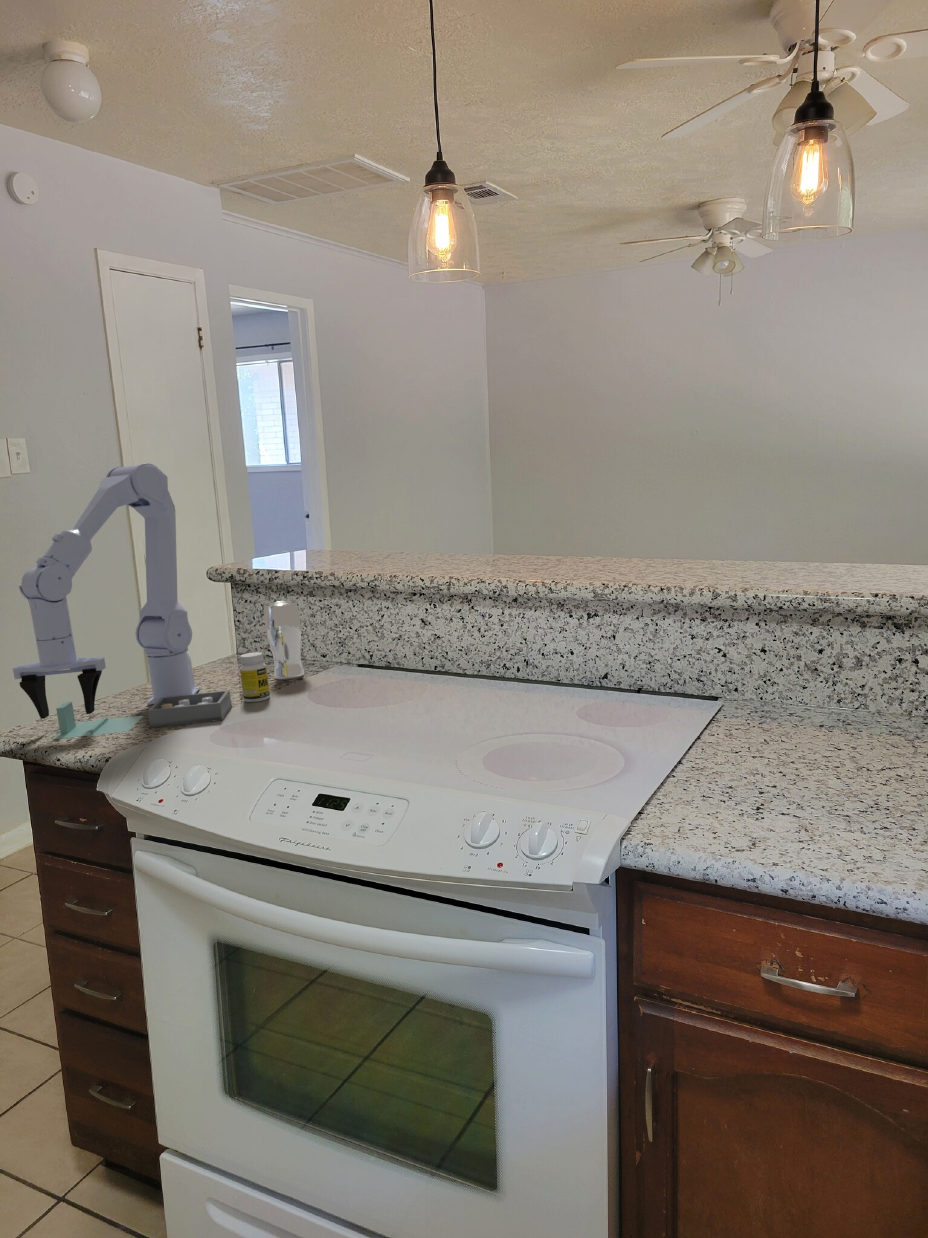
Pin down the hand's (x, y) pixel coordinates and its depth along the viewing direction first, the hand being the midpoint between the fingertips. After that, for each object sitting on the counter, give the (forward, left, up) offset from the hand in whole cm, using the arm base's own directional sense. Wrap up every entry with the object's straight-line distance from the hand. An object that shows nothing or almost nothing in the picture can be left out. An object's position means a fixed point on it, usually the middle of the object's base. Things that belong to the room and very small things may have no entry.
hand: (67, 714), depth 152 cm
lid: (0, +5, -3) cm, 6 cm away
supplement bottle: (-8, +31, -3) cm, 32 cm away
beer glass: (-25, +35, -3) cm, 43 cm away
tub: (0, +21, -3) cm, 21 cm away
